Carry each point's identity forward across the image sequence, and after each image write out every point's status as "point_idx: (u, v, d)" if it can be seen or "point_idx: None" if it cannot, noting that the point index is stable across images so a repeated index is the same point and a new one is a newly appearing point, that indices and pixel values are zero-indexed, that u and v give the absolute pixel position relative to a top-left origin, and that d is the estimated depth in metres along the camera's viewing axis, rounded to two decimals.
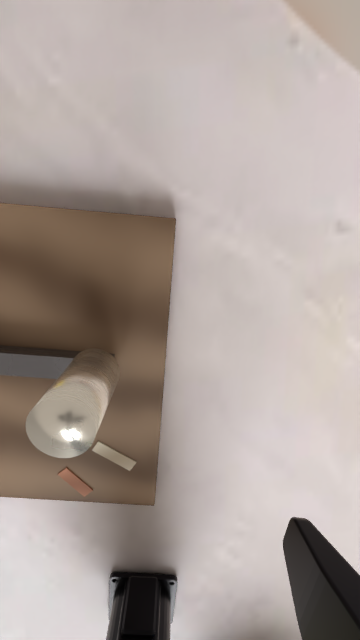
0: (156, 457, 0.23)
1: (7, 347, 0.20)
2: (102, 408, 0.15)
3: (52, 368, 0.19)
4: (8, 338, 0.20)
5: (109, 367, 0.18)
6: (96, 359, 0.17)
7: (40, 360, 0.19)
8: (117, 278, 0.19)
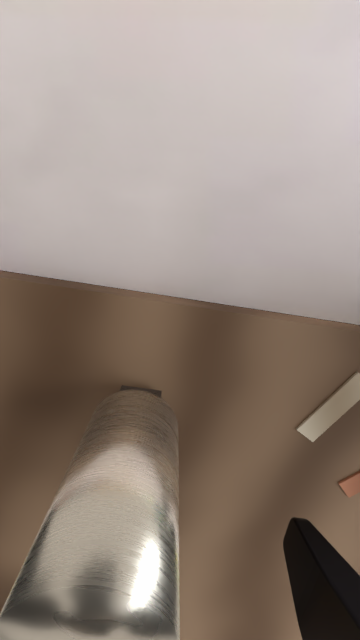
0: (357, 334, 0.11)
1: None
2: (97, 505, 0.06)
3: None
4: None
5: (99, 420, 0.09)
6: (81, 440, 0.09)
7: None
8: None
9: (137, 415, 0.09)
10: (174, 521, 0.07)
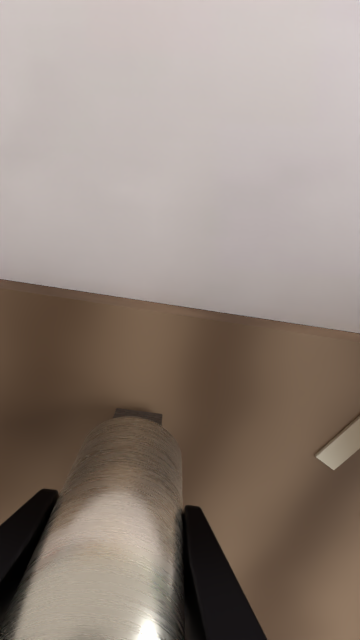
0: None
1: None
2: (76, 599, 0.04)
3: None
4: None
5: (87, 458, 0.07)
6: (65, 481, 0.08)
7: None
8: None
9: (133, 452, 0.07)
10: (179, 605, 0.05)
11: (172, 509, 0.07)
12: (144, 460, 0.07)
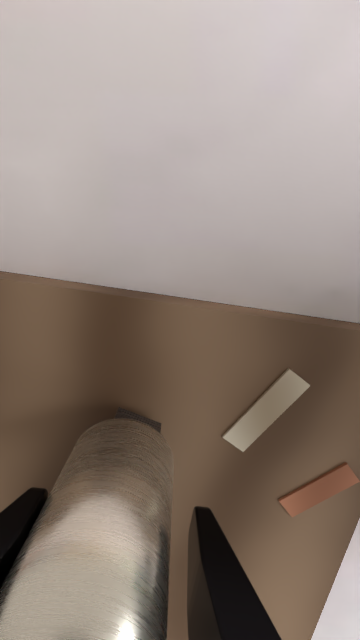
0: (284, 323, 0.10)
1: None
2: (82, 599, 0.04)
3: None
4: None
5: (91, 453, 0.07)
6: (63, 471, 0.08)
7: None
8: None
9: (138, 458, 0.07)
10: (166, 623, 0.05)
11: (166, 524, 0.07)
12: (147, 469, 0.07)
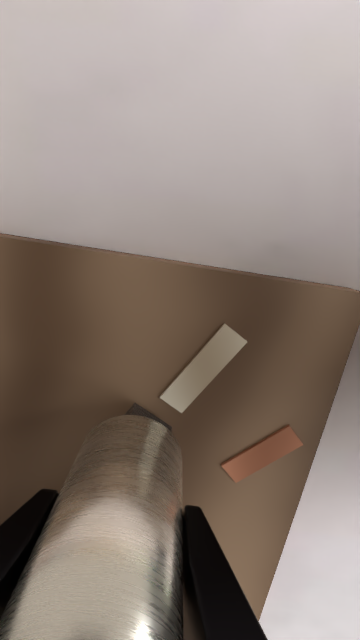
0: (217, 274, 0.09)
1: None
2: (126, 600, 0.04)
3: None
4: None
5: (116, 447, 0.07)
6: (83, 459, 0.07)
7: None
8: None
9: (160, 461, 0.08)
10: None
11: (181, 531, 0.07)
12: (168, 473, 0.07)
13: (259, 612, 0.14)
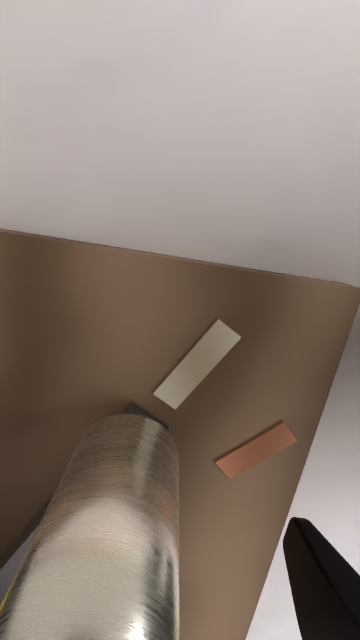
0: (211, 268, 0.09)
1: (22, 534, 0.11)
2: (121, 602, 0.04)
3: None
4: None
5: (112, 446, 0.07)
6: (79, 458, 0.07)
7: None
8: None
9: (157, 460, 0.07)
10: None
11: None
12: (165, 473, 0.07)
13: (253, 608, 0.14)
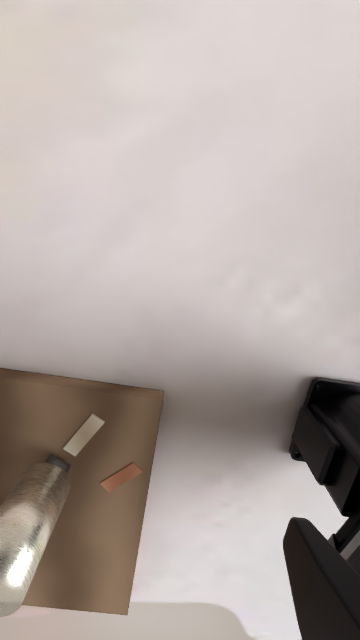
0: (86, 391, 0.19)
1: None
2: (15, 537, 0.14)
3: None
4: None
5: (30, 481, 0.17)
6: (15, 486, 0.17)
7: None
8: None
9: (50, 487, 0.17)
10: (42, 552, 0.15)
11: (54, 517, 0.16)
12: (53, 492, 0.17)
13: (134, 566, 0.23)
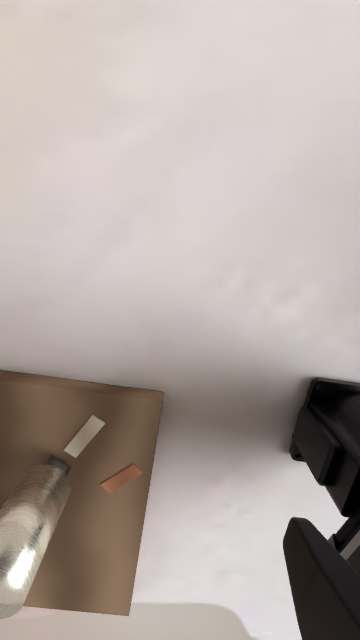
0: (86, 392, 0.19)
1: None
2: (16, 539, 0.14)
3: None
4: None
5: (31, 482, 0.17)
6: (16, 487, 0.17)
7: None
8: None
9: (51, 488, 0.17)
10: (43, 553, 0.15)
11: (55, 518, 0.16)
12: (53, 494, 0.17)
13: (135, 567, 0.23)
